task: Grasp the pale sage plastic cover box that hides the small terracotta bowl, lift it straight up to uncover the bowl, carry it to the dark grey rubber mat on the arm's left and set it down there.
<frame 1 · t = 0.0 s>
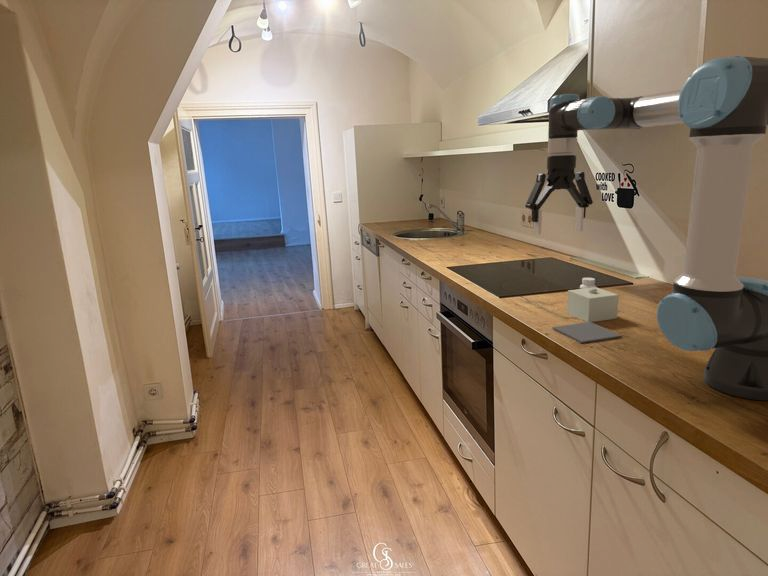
hand: (558, 232, 144), 28 cm above the worktop, fingers open, 13 cm apart
pill bottle: (586, 304, 171), on the worktop
cover: (591, 315, 159), on the worktop
bowl: (591, 315, 159), on the worktop
mat: (586, 333, 143), on the worktop
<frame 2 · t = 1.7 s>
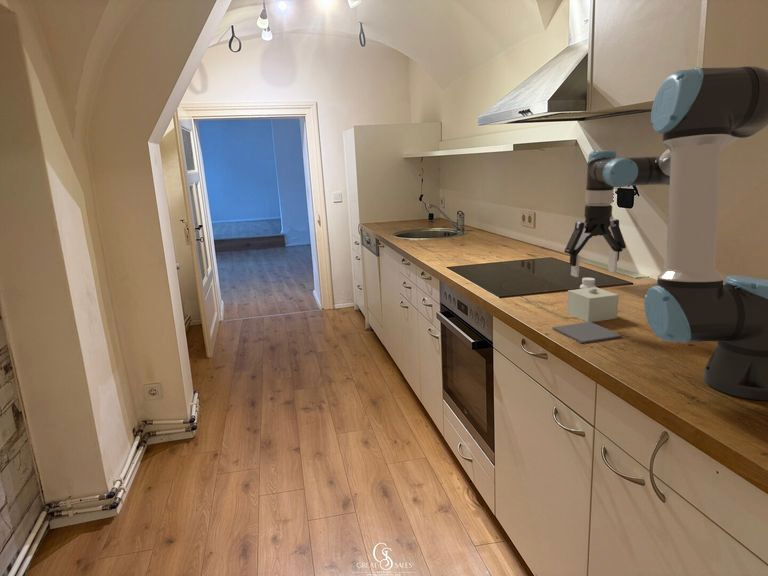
hand: (593, 274, 156), 13 cm above the worktop, fingers open, 13 cm apart
nothing on the worktop moved.
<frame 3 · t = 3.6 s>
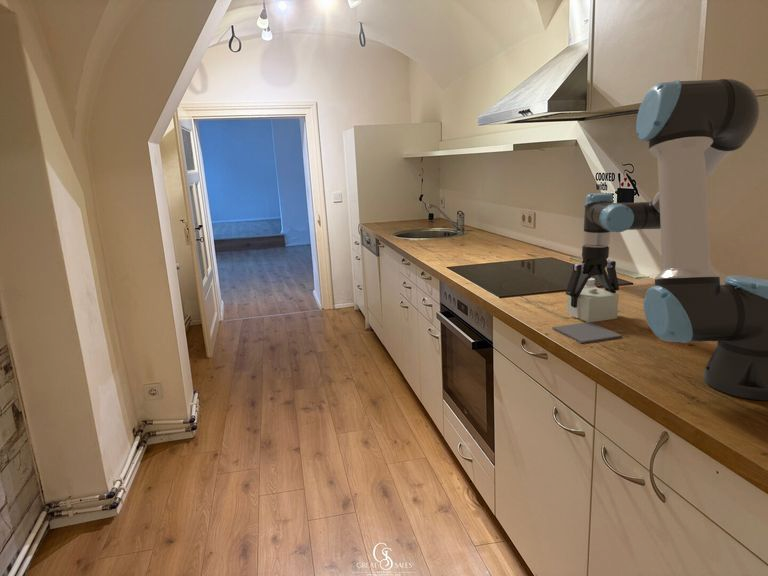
hand: (590, 314, 159), 0 cm above the worktop, fingers closed on cover, 10 cm apart
cover: (591, 315, 159), on the worktop, touching gripper
everything else where it was.
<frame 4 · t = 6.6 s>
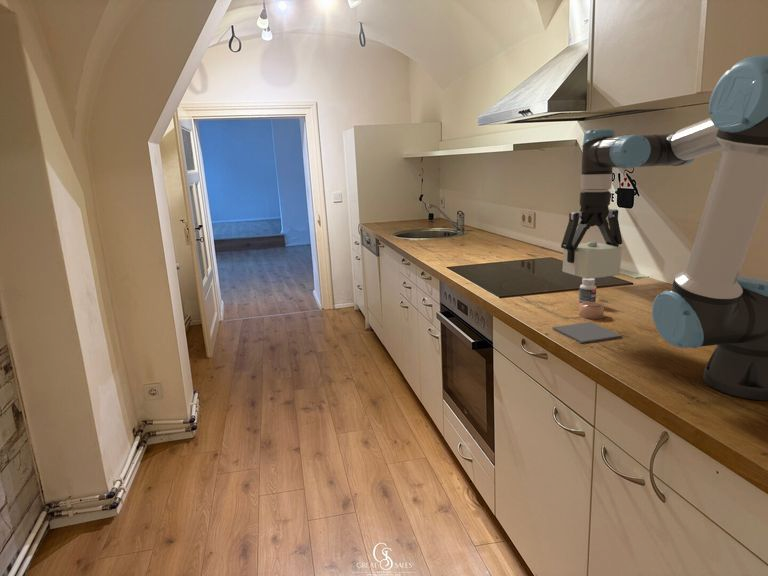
hand: (590, 272, 139), 18 cm above the worktop, fingers closed on cover, 10 cm apart
cover: (590, 273, 139), point 17 cm above the worktop, touching gripper
everything else where it was.
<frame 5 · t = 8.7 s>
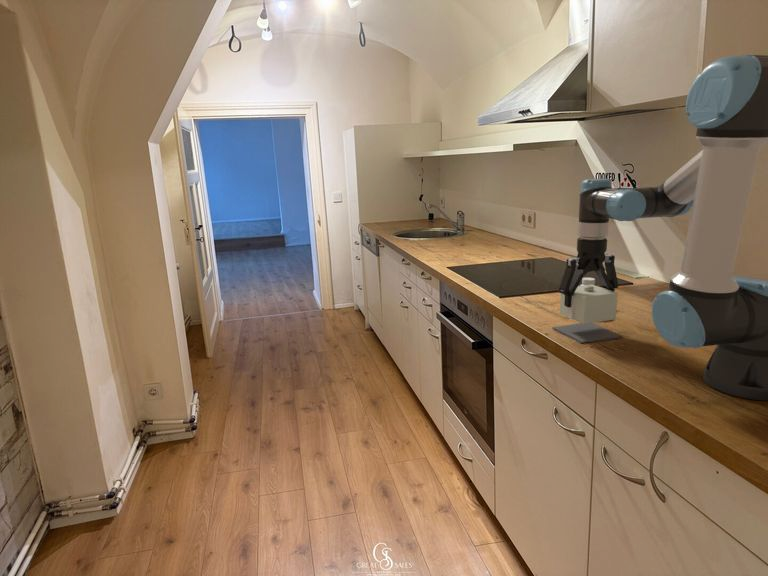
hand: (586, 315, 142), 5 cm above the worktop, fingers closed on cover, 10 cm apart
cover: (587, 316, 142), point 5 cm above the worktop, touching gripper
everything else where it was.
when the fingers open (1 cm above the worktop, at t = 10.1 s): cover stays where it is, resting on mat.
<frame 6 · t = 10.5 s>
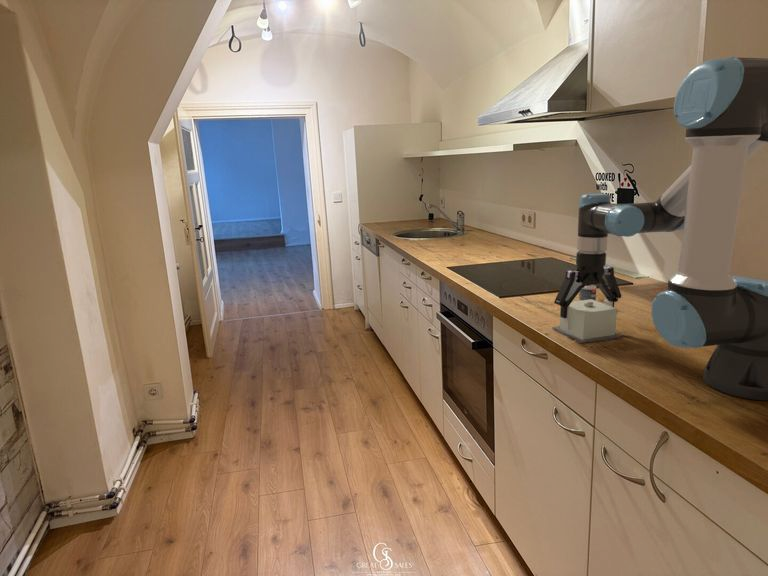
hand: (586, 325, 143), 2 cm above the worktop, fingers open, 13 cm apart
cover: (586, 331, 143), point 1 cm above the worktop, touching mat
everything else where it was.
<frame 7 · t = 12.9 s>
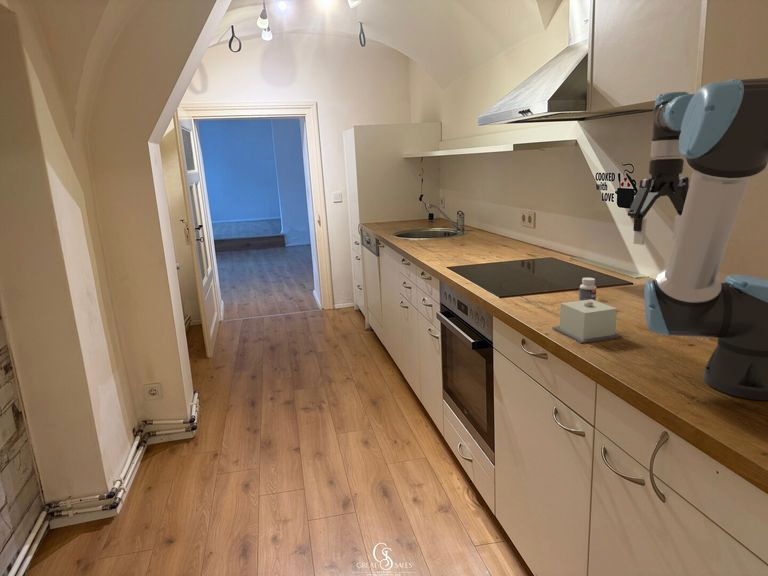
hand: (658, 242, 132), 26 cm above the worktop, fingers open, 13 cm apart
nothing on the worktop moved.
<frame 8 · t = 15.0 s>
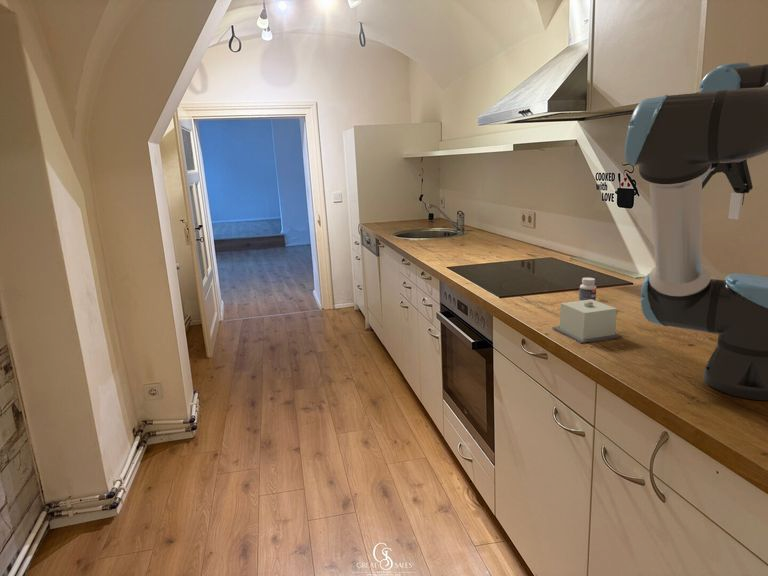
hand: (713, 220, 128), 32 cm above the worktop, fingers open, 13 cm apart
nothing on the worktop moved.
at the end: cover inside the target area on the mat (0.1 cm from its centre), point 0.6 cm above the mat's base; cover tilted 0°; the gripper is holding nothing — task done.
